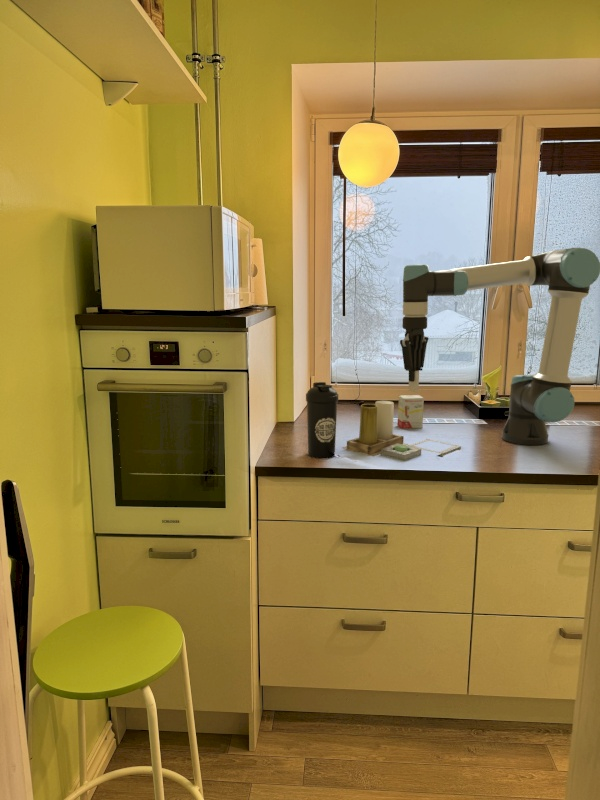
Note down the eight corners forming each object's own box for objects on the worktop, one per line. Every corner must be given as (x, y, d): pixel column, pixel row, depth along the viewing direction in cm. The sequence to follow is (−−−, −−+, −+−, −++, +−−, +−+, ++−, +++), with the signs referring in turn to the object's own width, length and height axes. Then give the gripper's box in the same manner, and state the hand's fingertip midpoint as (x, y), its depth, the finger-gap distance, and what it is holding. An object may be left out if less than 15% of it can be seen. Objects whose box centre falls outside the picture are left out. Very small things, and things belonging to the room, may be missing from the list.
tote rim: (460, 449, 194) (461, 446, 194) (441, 457, 186) (441, 453, 186) (427, 442, 203) (427, 438, 203) (407, 448, 195) (407, 445, 195)
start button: (410, 452, 184) (410, 446, 184) (402, 455, 182) (402, 449, 181) (399, 450, 187) (399, 444, 187) (391, 452, 184) (392, 446, 184)
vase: (375, 445, 194) (376, 403, 191) (378, 451, 188) (380, 407, 185) (357, 446, 194) (358, 403, 191) (359, 451, 188) (360, 407, 185)
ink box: (401, 428, 221) (402, 398, 219) (397, 425, 226) (398, 395, 224) (423, 428, 223) (424, 397, 220) (418, 424, 227) (419, 394, 225)
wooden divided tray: (408, 447, 196) (408, 437, 195) (373, 459, 183) (373, 448, 182) (377, 440, 205) (377, 430, 204) (341, 451, 192) (341, 440, 191)
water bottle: (311, 460, 182) (311, 387, 177) (301, 451, 191) (302, 381, 187) (341, 458, 185) (343, 385, 180) (331, 449, 194) (332, 380, 190)
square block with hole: (421, 458, 185) (421, 449, 184) (404, 464, 178) (404, 454, 178) (397, 452, 191) (397, 443, 190) (380, 458, 185) (380, 448, 184)
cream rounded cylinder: (395, 443, 197) (397, 402, 194) (385, 447, 193) (386, 405, 190) (381, 440, 201) (382, 399, 198) (370, 443, 197) (371, 402, 194)
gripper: (415, 314, 189) (414, 386, 194) (392, 316, 179) (391, 392, 184) (436, 315, 184) (434, 389, 188) (414, 317, 174) (412, 395, 179)
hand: (413, 391), depth 186 cm, fingers closed
